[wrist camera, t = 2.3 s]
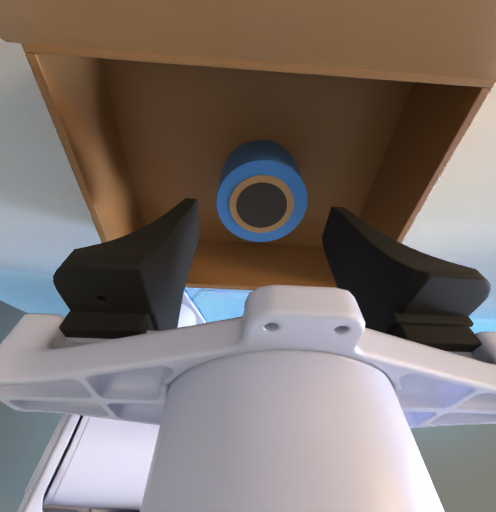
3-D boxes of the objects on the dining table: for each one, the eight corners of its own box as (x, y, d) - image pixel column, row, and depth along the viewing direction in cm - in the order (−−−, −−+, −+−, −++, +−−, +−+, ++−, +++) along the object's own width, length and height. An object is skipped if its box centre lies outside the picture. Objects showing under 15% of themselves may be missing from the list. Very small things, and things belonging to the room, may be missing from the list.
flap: (-542, -240, 3) (-577, -292, 2) (7, 42, 8) (4, 31, 8) (1005, -73, 3) (1034, -107, 3) (510, 81, 9) (513, 71, 9)
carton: (143, 238, 21) (118, 284, 17) (91, 40, 13) (18, 37, 9) (348, 248, 22) (371, 295, 18) (423, 66, 14) (499, 75, 9)
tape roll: (235, 221, 20) (233, 250, 17) (209, 154, 16) (201, 176, 13) (303, 204, 19) (313, 232, 16) (290, 128, 15) (300, 147, 12)
